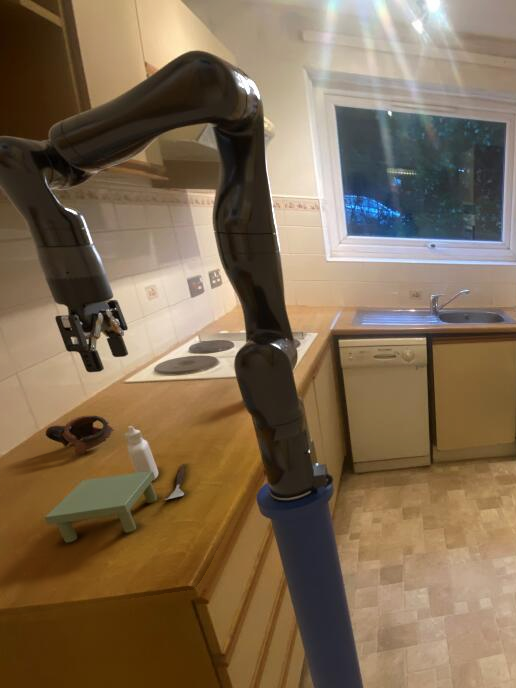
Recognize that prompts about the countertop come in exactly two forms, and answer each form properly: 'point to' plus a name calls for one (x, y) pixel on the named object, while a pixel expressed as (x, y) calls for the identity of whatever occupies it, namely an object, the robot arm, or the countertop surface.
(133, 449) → the eye dropper bottle
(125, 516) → the stool
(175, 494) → the fork
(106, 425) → the pottery mug
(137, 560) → the countertop surface
